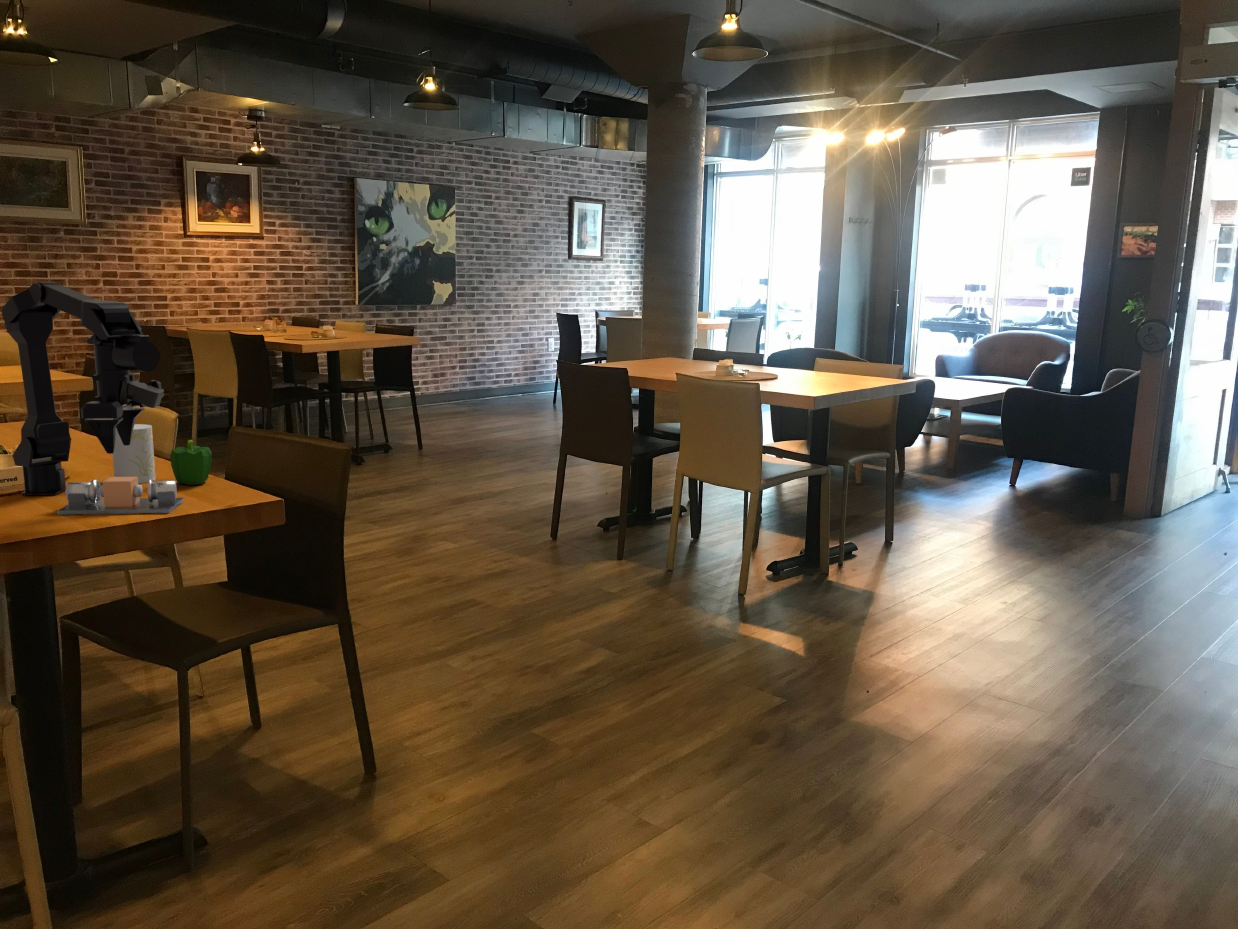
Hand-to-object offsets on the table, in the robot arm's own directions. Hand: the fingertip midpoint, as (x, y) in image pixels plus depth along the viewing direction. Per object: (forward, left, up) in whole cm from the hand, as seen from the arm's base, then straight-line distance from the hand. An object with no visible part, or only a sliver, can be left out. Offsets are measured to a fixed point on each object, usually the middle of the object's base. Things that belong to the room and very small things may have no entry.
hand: (118, 449), depth 188 cm
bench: (0, 0, -12) cm, 12 cm away
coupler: (0, 0, -11) cm, 11 cm away
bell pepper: (+7, +23, -12) cm, 27 cm away
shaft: (+7, +1, -11) cm, 13 cm away
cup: (-6, +27, -12) cm, 30 cm away
